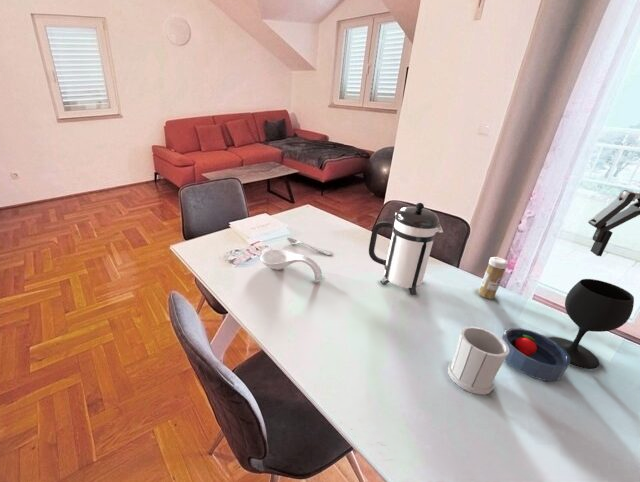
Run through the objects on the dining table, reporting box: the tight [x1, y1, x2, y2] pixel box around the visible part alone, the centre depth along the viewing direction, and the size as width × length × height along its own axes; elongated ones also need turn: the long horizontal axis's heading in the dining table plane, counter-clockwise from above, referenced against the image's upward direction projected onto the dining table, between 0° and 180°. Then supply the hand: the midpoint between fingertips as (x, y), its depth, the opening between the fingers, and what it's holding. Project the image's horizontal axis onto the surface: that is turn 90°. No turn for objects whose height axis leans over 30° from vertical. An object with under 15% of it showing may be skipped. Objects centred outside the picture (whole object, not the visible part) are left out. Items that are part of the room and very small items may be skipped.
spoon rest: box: [259, 249, 323, 283], centre depth 116 cm, size 24×12×7 cm, turn 56°
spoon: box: [285, 237, 332, 256], centre depth 133 cm, size 4×21×2 cm, turn 54°
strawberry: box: [515, 335, 537, 356], centre depth 80 cm, size 4×4×5 cm
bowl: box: [501, 327, 571, 381], centre depth 78 cm, size 12×12×5 cm
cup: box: [447, 326, 509, 395], centre depth 72 cm, size 10×9×12 cm
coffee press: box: [368, 202, 444, 296], centre depth 104 cm, size 17×16×30 cm
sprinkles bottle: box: [477, 256, 509, 300], centre depth 101 cm, size 5×5×13 cm
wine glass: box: [548, 278, 635, 370], centre depth 77 cm, size 10×10×20 cm
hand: (632, 258), depth 76 cm, fingers open, 13 cm apart
